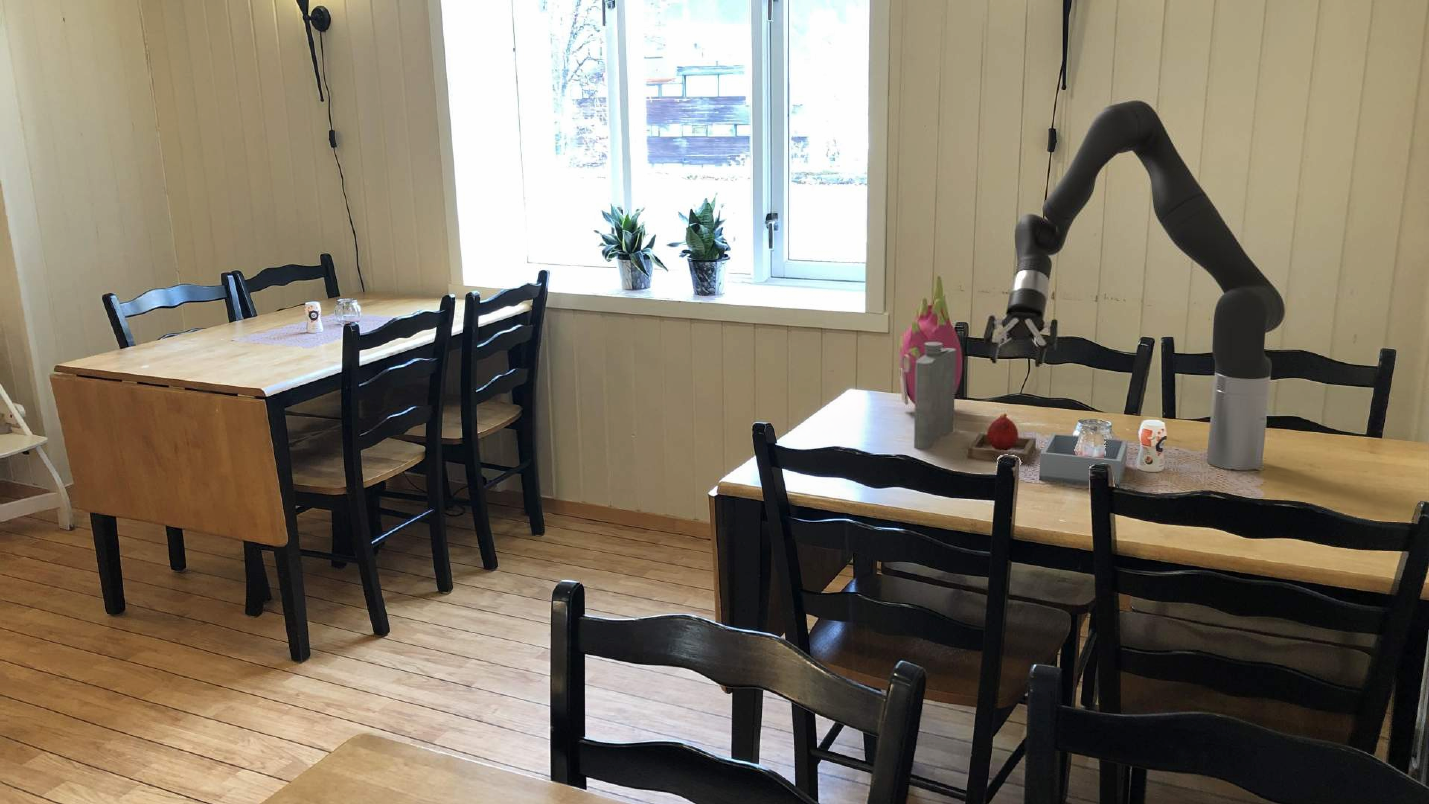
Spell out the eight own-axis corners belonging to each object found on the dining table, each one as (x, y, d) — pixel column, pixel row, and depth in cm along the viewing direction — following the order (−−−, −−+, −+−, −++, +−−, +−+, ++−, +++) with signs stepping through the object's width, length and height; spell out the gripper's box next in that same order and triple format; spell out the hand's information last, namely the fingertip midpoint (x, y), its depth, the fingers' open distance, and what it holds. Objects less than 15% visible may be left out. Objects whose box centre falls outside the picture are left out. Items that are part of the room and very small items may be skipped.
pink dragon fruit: (886, 403, 253) (888, 273, 246) (943, 399, 255) (946, 270, 248) (913, 423, 236) (915, 284, 229) (973, 419, 238) (977, 281, 231)
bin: (1125, 465, 205) (1127, 440, 204) (1118, 488, 193) (1120, 461, 192) (1050, 458, 210) (1051, 433, 209) (1039, 479, 198) (1040, 453, 197)
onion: (1018, 458, 211) (1019, 417, 209) (987, 457, 212) (988, 417, 210) (1016, 449, 217) (1018, 410, 215) (986, 448, 218) (987, 409, 216)
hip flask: (926, 450, 217) (928, 351, 212) (907, 447, 220) (909, 349, 214) (955, 430, 230) (958, 336, 225) (937, 428, 232) (939, 335, 227)
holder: (1035, 448, 217) (1035, 438, 216) (1025, 464, 207) (1026, 454, 207) (979, 442, 221) (979, 433, 221) (967, 458, 212) (967, 448, 211)
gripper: (991, 285, 228) (977, 350, 221) (1062, 288, 222) (1050, 355, 215) (995, 306, 234) (981, 370, 227) (1064, 310, 228) (1053, 376, 221)
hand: (1015, 363), depth 221 cm, fingers open, 8 cm apart
